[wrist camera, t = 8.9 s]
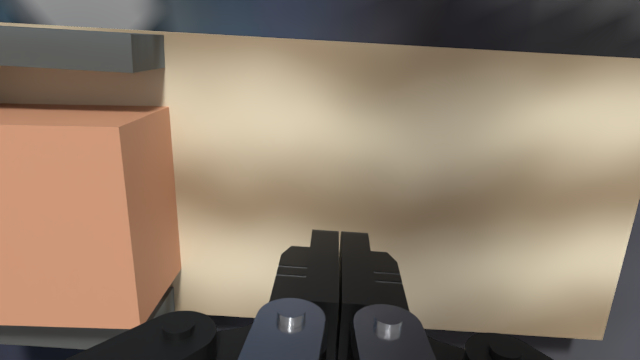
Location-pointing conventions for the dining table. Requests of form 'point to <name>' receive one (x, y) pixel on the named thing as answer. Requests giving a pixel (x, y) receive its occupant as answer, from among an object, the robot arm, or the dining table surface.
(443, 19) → the dining table surface
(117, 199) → the carton
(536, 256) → the board
